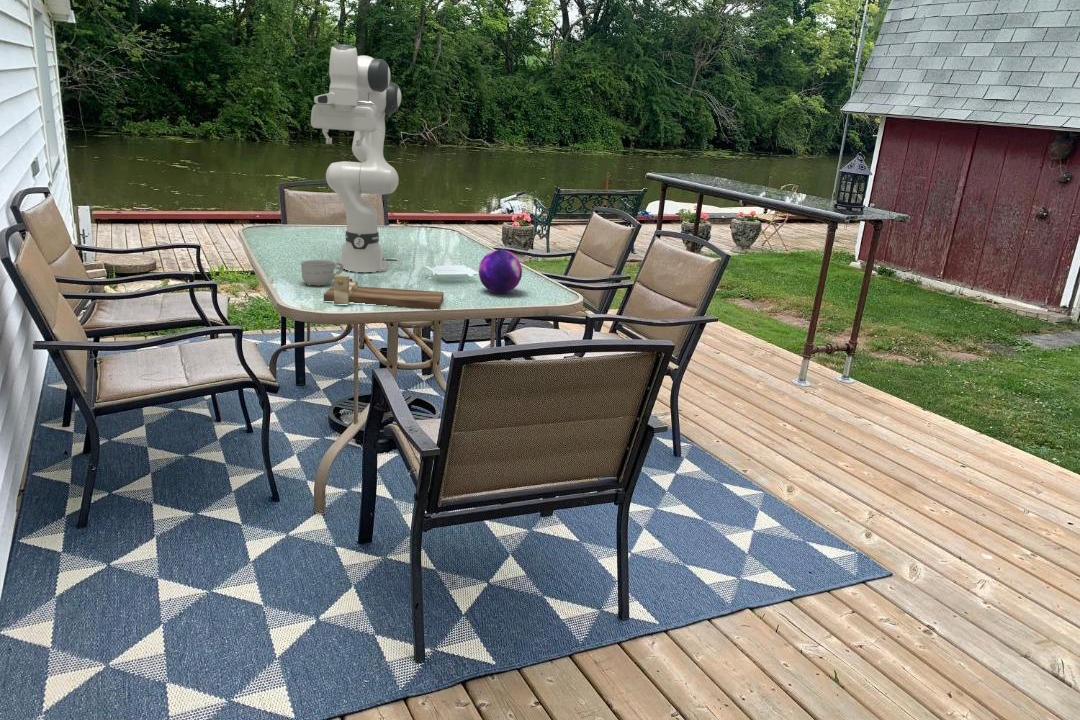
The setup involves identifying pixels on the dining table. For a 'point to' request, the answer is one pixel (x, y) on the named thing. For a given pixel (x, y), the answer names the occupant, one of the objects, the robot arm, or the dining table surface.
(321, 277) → the teacup
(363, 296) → the oak plank
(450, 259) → the dining table surface
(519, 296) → the dining table surface
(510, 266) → the decorative orb
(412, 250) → the dining table surface
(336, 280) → the marking gauge
